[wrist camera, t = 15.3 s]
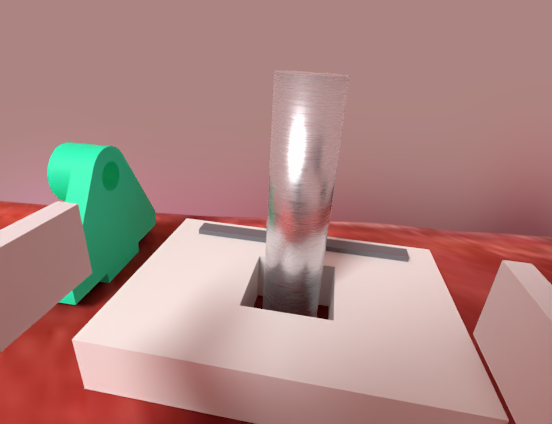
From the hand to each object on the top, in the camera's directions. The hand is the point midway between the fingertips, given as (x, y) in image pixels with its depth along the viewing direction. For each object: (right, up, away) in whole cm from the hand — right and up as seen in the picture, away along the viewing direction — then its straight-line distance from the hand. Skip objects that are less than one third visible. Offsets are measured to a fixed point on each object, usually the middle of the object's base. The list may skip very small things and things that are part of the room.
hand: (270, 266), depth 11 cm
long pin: (+1, -6, +12) cm, 14 cm away
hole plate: (+1, -6, +12) cm, 14 cm away
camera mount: (-16, -3, +18) cm, 25 cm away
